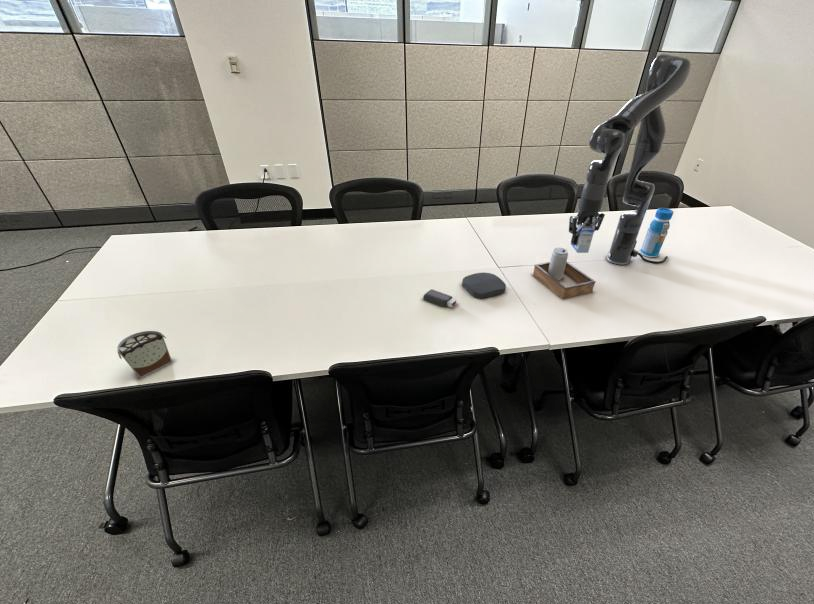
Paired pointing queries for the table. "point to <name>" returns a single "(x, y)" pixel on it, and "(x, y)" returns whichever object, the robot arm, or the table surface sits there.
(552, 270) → the beverage can
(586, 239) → the medicine box
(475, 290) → the media streaming box
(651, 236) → the beverage bottle
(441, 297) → the usb drive
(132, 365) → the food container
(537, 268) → the wooden tray
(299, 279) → the table surface
